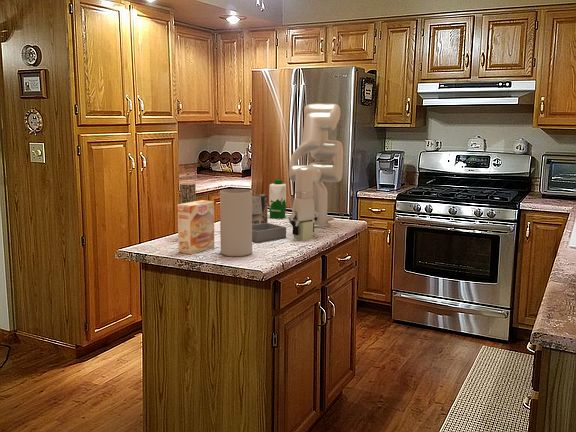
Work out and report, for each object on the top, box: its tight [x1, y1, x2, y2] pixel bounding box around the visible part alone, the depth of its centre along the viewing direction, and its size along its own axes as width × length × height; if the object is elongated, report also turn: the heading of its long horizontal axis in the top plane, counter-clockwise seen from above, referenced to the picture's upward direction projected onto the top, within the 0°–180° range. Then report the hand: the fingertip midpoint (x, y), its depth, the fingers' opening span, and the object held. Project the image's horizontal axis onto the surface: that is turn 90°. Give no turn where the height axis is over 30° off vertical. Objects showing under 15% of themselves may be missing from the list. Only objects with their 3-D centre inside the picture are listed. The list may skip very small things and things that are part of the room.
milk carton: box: [268, 179, 287, 220], centre depth 306 cm, size 9×9×20 cm
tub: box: [252, 222, 287, 244], centre depth 255 cm, size 16×13×5 cm
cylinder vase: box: [219, 188, 253, 258], centre depth 225 cm, size 12×12×25 cm
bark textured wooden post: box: [179, 181, 197, 204], centre depth 252 cm, size 7×7×25 cm
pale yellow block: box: [293, 221, 314, 242], centre depth 254 cm, size 6×6×8 cm
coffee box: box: [252, 193, 269, 225], centre depth 278 cm, size 9×6×16 cm
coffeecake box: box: [176, 199, 215, 255], centre depth 231 cm, size 15×7×20 cm, turn 148°
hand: (303, 233), depth 254 cm, fingers open, 9 cm apart
